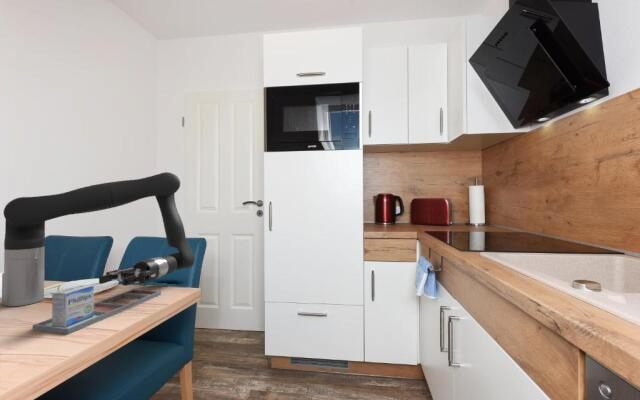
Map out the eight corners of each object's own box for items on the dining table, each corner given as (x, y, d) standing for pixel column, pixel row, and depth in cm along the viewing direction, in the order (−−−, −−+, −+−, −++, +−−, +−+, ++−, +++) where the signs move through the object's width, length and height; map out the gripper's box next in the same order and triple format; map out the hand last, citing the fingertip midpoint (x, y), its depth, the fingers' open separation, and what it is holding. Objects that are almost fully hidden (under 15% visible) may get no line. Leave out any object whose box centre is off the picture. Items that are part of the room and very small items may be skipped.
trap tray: (32, 329, 77) (32, 325, 77) (133, 292, 108) (133, 288, 108) (68, 334, 75) (68, 329, 75) (160, 294, 106) (160, 291, 106)
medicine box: (65, 328, 78) (65, 293, 78) (51, 326, 78) (51, 292, 78) (94, 316, 85) (94, 285, 85) (80, 315, 86) (81, 284, 86)
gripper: (134, 257, 110) (92, 267, 95) (168, 260, 108) (131, 270, 92) (133, 278, 110) (92, 292, 95) (168, 281, 108) (131, 295, 92)
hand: (111, 281), depth 93 cm, fingers open, 8 cm apart
